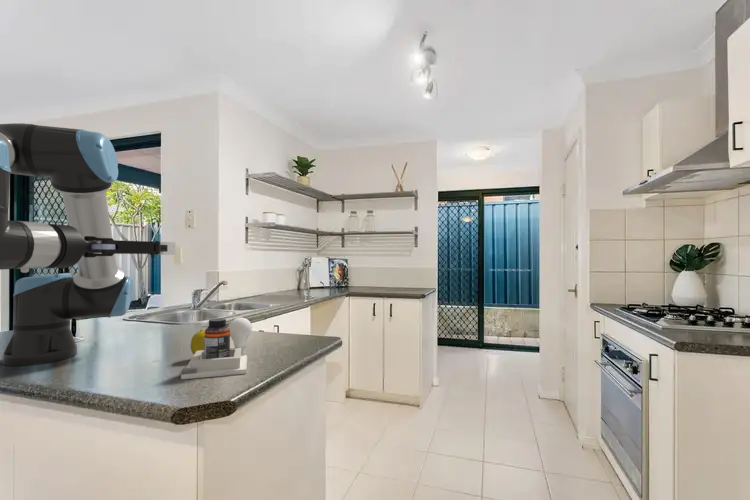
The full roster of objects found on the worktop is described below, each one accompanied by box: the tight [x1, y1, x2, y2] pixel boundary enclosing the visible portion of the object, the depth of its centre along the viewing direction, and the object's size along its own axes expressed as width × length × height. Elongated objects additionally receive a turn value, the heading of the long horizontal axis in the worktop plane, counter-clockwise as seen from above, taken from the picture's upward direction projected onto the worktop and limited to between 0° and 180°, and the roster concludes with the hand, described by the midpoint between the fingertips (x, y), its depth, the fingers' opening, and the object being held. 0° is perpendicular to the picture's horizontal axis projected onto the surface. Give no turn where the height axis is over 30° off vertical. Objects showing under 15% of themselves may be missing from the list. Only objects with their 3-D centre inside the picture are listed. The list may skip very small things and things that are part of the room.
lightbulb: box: [228, 317, 253, 356], centre depth 102 cm, size 6×6×11 cm
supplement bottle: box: [204, 317, 231, 359], centre depth 91 cm, size 6×6×11 cm
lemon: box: [190, 329, 205, 355], centre depth 100 cm, size 6×6×8 cm
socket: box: [180, 347, 248, 380], centre depth 91 cm, size 14×14×4 cm
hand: (147, 248), depth 81 cm, fingers open, 13 cm apart
